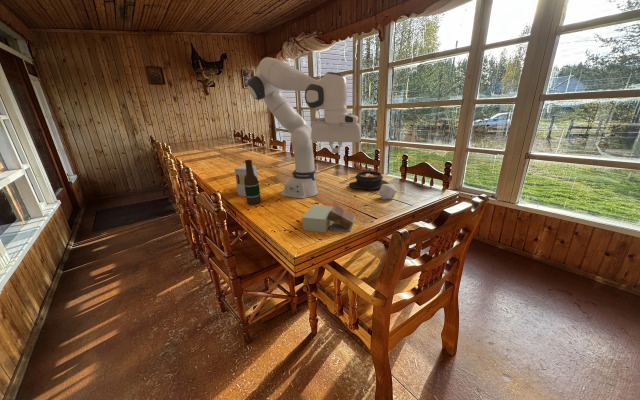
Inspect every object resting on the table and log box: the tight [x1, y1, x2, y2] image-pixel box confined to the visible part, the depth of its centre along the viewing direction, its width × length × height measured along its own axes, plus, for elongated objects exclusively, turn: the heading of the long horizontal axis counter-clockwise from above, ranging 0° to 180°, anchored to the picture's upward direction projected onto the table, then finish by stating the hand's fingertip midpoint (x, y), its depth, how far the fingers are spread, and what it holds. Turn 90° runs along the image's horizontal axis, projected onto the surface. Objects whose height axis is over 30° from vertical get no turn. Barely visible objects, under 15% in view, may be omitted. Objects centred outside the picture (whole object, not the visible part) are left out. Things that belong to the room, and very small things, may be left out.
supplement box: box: [234, 164, 259, 197], centre depth 155 cm, size 10×9×17 cm
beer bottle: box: [244, 159, 262, 206], centre depth 139 cm, size 8×8×24 cm
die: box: [378, 183, 397, 201], centre depth 140 cm, size 8×9×10 cm
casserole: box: [348, 170, 390, 190], centre depth 160 cm, size 25×19×8 cm
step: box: [301, 204, 334, 233], centre depth 114 cm, size 10×14×6 cm
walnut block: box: [328, 204, 356, 230], centre depth 111 cm, size 4×7×10 cm
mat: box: [328, 221, 354, 233], centre depth 112 cm, size 9×9×1 cm
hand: (335, 152), depth 106 cm, fingers closed
